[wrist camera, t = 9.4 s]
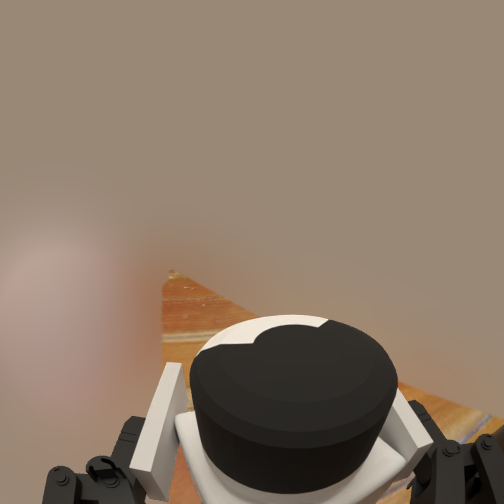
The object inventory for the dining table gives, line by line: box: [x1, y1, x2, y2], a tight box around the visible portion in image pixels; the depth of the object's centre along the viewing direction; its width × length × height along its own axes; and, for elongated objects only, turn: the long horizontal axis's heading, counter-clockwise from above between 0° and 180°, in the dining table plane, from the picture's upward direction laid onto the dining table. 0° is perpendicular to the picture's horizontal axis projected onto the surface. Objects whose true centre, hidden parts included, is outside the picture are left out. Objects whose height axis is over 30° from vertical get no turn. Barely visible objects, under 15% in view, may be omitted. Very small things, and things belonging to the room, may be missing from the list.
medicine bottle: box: [174, 315, 406, 504], centre depth 9 cm, size 7×7×12 cm
